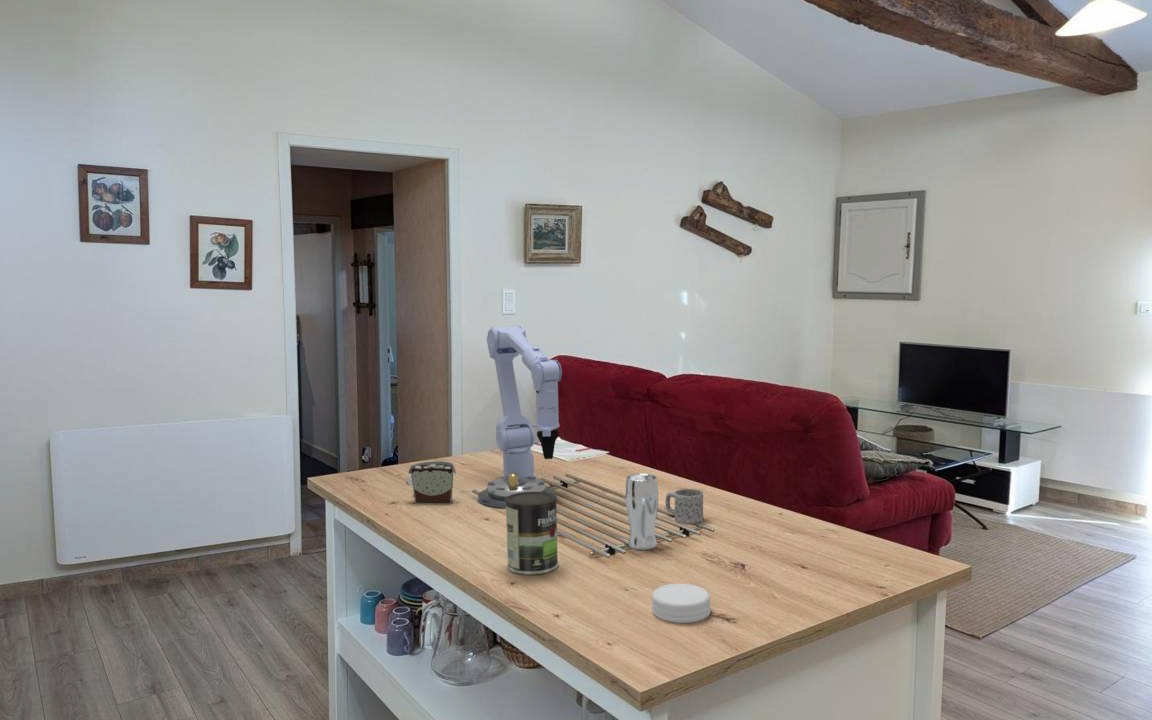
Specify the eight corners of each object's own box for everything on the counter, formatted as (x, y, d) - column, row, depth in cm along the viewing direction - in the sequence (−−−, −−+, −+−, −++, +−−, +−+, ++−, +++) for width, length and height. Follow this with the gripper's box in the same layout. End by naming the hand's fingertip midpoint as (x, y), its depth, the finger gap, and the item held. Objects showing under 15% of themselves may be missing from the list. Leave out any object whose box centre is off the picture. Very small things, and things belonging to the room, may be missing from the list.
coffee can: (568, 562, 170) (566, 494, 169) (539, 578, 161) (537, 507, 160) (526, 554, 176) (524, 488, 174) (496, 569, 167) (494, 500, 165)
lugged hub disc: (547, 485, 227) (546, 461, 226) (542, 500, 212) (541, 475, 211) (492, 485, 227) (491, 462, 227) (483, 500, 213) (482, 475, 212)
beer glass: (637, 553, 175) (636, 482, 173) (620, 544, 181) (619, 476, 179) (665, 547, 178) (664, 478, 176) (647, 538, 184) (646, 471, 183)
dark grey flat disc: (500, 485, 233) (500, 481, 233) (566, 491, 225) (566, 486, 225) (464, 504, 214) (464, 499, 214) (535, 511, 207) (534, 506, 207)
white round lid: (645, 620, 142) (644, 600, 141) (660, 598, 151) (660, 579, 151) (703, 628, 138) (703, 607, 138) (715, 605, 147) (715, 586, 147)
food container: (462, 498, 221) (460, 460, 220) (456, 504, 215) (455, 466, 214) (416, 497, 222) (415, 460, 221) (409, 504, 216) (408, 466, 215)
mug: (708, 519, 198) (708, 492, 197) (692, 526, 193) (692, 497, 192) (674, 512, 204) (674, 485, 204) (657, 518, 199) (657, 490, 199)
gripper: (533, 403, 225) (534, 452, 226) (530, 412, 210) (531, 465, 212) (559, 402, 225) (560, 452, 226) (558, 411, 210) (559, 464, 212)
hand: (548, 458), depth 219 cm, fingers closed
